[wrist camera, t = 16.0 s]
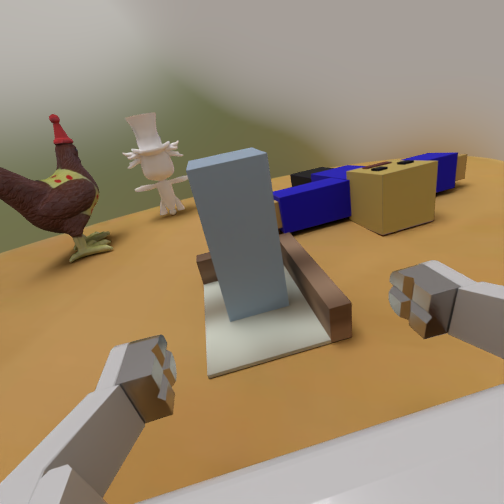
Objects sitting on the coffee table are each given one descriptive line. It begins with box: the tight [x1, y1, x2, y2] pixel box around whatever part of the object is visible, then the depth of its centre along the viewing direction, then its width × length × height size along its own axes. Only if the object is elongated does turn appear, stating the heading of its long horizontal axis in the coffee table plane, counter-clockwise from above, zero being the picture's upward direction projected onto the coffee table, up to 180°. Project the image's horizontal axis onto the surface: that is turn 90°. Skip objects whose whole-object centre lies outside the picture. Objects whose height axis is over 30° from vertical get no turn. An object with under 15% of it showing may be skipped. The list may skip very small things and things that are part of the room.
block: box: [186, 148, 289, 322], centre depth 21 cm, size 5×5×12 cm
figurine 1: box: [0, 114, 113, 263], centre depth 38 cm, size 11×15×20 cm
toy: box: [273, 153, 467, 235], centre depth 41 cm, size 30×7×27 cm
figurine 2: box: [123, 113, 188, 215], centre depth 48 cm, size 10×8×18 cm
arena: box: [197, 232, 352, 378], centre depth 22 cm, size 12×10×3 cm
